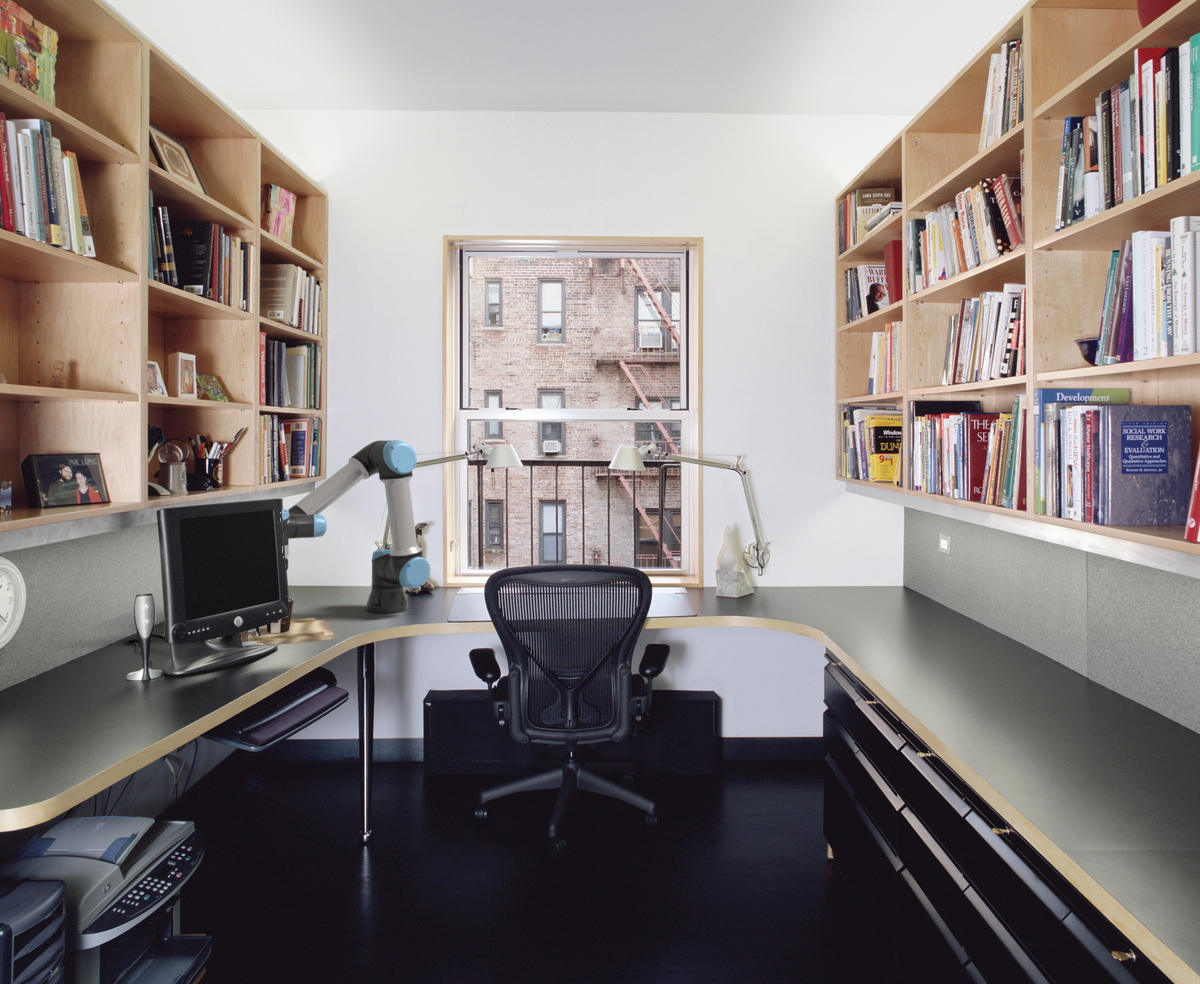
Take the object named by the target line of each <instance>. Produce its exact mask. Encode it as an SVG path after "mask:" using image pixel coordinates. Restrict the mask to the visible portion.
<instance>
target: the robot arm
mask: <svg viewBox="0 0 1200 984" xmlns="http://www.w3.org/2000/svg"><path fill="white" fill-rule="evenodd" d="M417 462H418V461H417V453H416V451H415V449H414V448H413V447H412V446H411V445H410V444H409V443H408V442H405V441H402V440H396V439H393V440H392V439H391V440H375V441H373V442H371V443H368V444H367V445H366V446H364V447H363V448H361V449H360V450H358V451H357V452H356V453H355V454H353V455H352V456H351V457H350V458H348V462H347V464H345V465H343V467H341V468H340V469H339V470H338V471H336V472H335V473H334V474H332V475H331V476H329V478H327V479H326V480H325V481H324V482H323V483H321V484H320V485H318V486H317V487H316V488H314V489H313V490H312V491H310V492H309V493H308V494H306V496H304V497H303V498H301V500H300V501H298V502H296V503H295V504H294V505H293V506H291V507H289V509H285V508H284V509H282V508H281V509H282V518H283V534H284V545H285V564H286V571H288V569H289V559H288V557H289V553H290V551H289V546H290V545H289V541H290V539H307V538H308V539H309V538H313V539H315V538H320V537H321V538H322V537H323V536H324V535H325V534H326V532H327V529H328V528H327V527H328V525H327V520H326V518H325V516H324V515H323V514H321V513H322V512H323V511H324V510H326V509H327V508H328V507H329V506H331V505H332V504H334V502H336V501H337V500H338V499H339V498H341V497H342V496H343V495H344V494H345V493H347V492H348V491H350V490H351V489H352V488H353V487H355V486H356V485H357V484H358V483H360V482H361V481H362V480H367V479H369V478H370V477H372V476H373V475H376V474H378V478H379V481H380V482H382V483H383V484H384V490H385V497H386V504H387V512H388V521H389V529H390V535H391V543H392V549H381V550H374V551H373V552H372V557H371V590H370V594H369V597H368V599H367V602H366V611H367V612H370V613H377V614H390V613H391V614H392V613H393V614H394V613H400V612H405V611H407V610H408V608H409V606H408V604H409V602H408V600H407V596H406V594H405V590H404V588H405V589H417V588H419V587H422V586H423V585H424V584H426V582H427V580H428V579H429V576H430V573H431V565H430V563H429V561H428V560H427V559H425V557H424V556H423V548H422V547H420V546H419V545H418V542H417V535H416V526H415V518H414V517H415V516H414V511H413V500H412V494H411V486H410V485H411V484H410V480H412V478H413V474H414V473H413V470H414V469H415V466H416V465H417ZM280 514H281V512H280ZM277 523H278V522H277ZM278 524H279V523H278ZM278 532H279V533H280V534H281V536H282V525H281V518H280V525H279V526H278ZM282 545H283V541H282ZM282 553H283V546H282ZM283 558H284V556H283ZM271 633H280V620H277V621H275V622H273V623H271Z"/></svg>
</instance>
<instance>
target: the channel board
mask: <svg viewBox="0 0 1200 984" xmlns="http://www.w3.org/2000/svg"><path fill="white" fill-rule="evenodd" d="M259 630H260V636H259V637H257V636H256V631H252V632H248V631H246V632H242V633H241V637H242V642H257V643H263V644H275V645H283V644H284V645H285V644H295V643H305V642H317V641H318V642H319V641H327V640H335V633H334V632H333V630H332V629H331V627H330V626H329V625H328V624H327V621H326V620H325V619H320V620H316V617H313V618H312V617H311V618H298V619H291V621H290V628H289V631H287V632H283V633H269V632H267V626H263V627H261V628H260V629H259ZM250 634H251V636H250V637H248V635H250Z"/></svg>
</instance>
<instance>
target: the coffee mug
mask: <svg viewBox="0 0 1200 984" xmlns="http://www.w3.org/2000/svg"><path fill="white" fill-rule="evenodd" d="M287 597H288V603H289V609H290V614H289V616H288V617H286V618H283V619H281V620H280V633H283V632H287V631H289V628H290V621H291V620H292V612H293V605H294V598H293V597H290V596H287ZM267 632H269V633H271V623H269V624H267Z"/></svg>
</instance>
